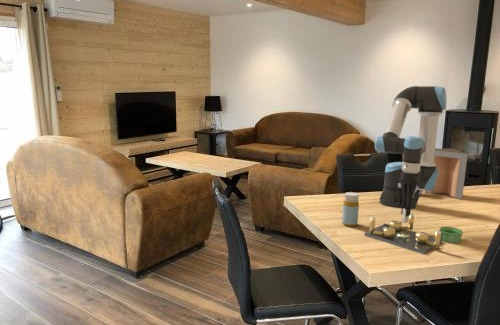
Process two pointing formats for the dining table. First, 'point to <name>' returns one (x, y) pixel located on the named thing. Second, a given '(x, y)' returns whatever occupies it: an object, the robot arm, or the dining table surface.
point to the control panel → (403, 239)
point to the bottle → (350, 209)
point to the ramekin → (451, 234)
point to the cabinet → (449, 173)
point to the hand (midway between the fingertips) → (404, 222)
